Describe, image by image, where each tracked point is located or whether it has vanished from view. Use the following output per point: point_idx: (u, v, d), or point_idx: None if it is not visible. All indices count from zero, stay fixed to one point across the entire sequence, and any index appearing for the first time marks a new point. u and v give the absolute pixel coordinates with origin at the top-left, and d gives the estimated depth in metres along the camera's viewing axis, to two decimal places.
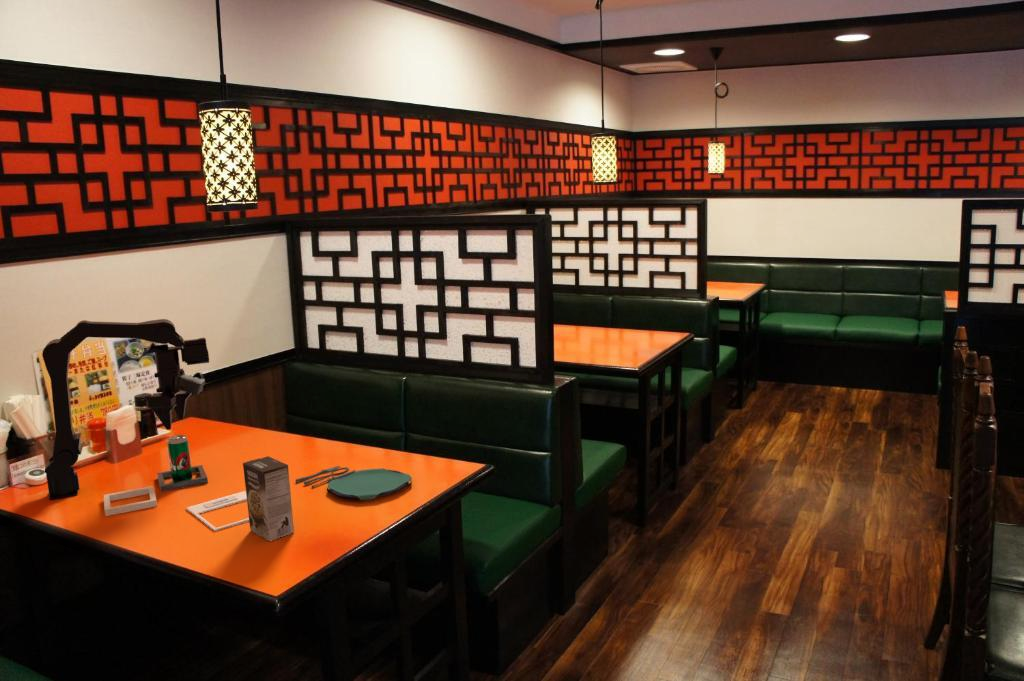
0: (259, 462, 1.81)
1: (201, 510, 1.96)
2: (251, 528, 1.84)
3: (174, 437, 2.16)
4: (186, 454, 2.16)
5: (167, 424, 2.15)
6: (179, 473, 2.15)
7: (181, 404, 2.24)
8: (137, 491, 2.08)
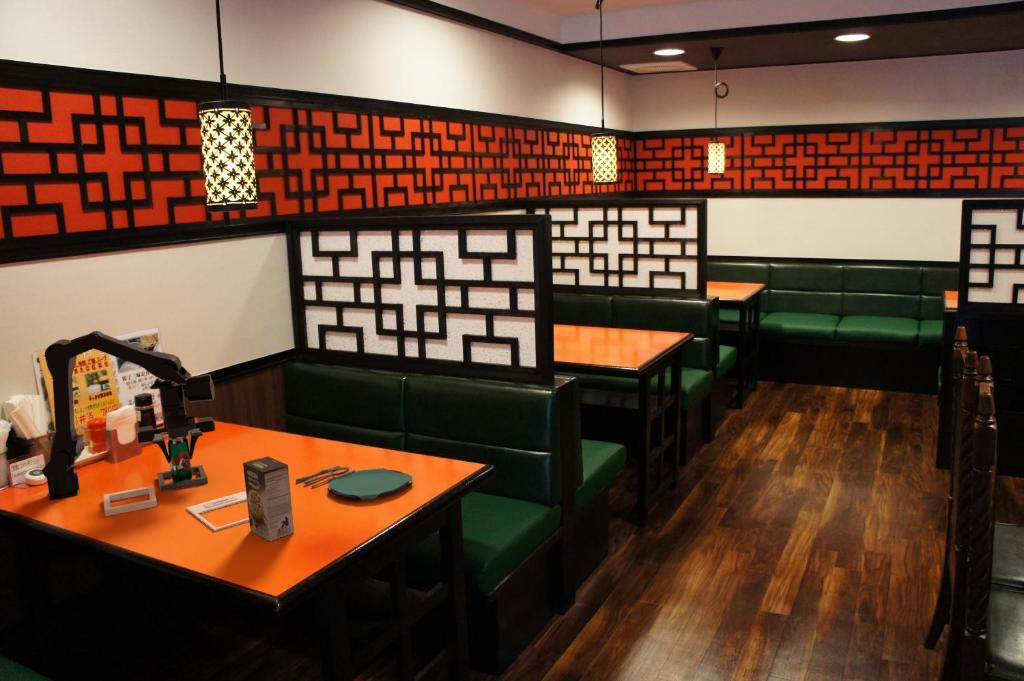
0: (259, 463, 1.81)
1: (201, 510, 1.96)
2: (251, 528, 1.84)
3: None
4: (186, 454, 2.16)
5: (165, 457, 2.15)
6: (179, 472, 2.15)
7: (189, 443, 2.17)
8: (137, 491, 2.08)
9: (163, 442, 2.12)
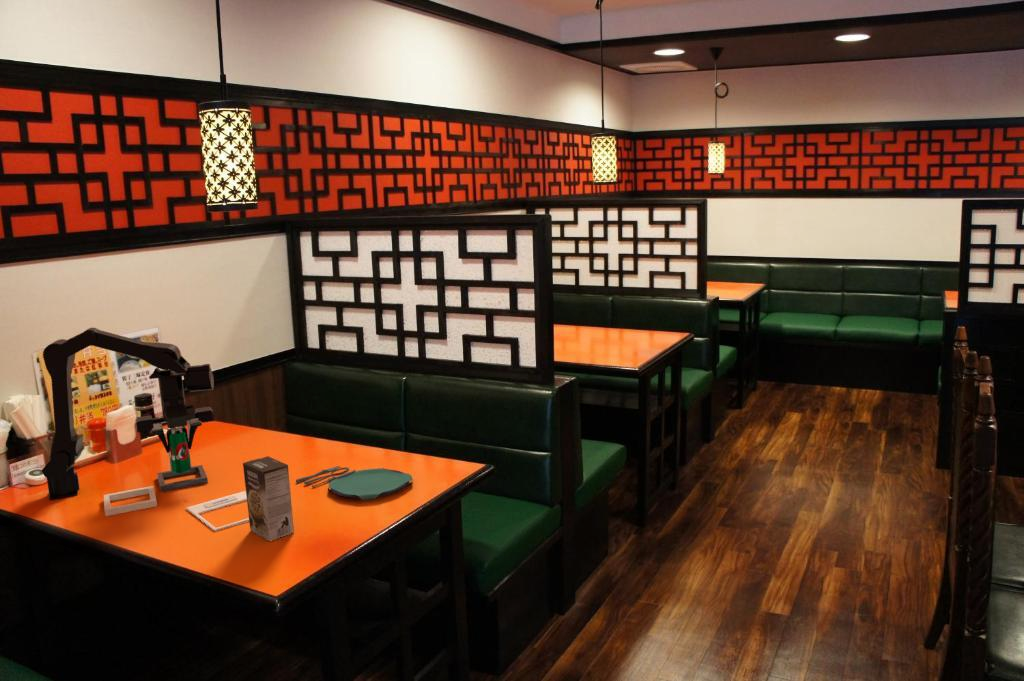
0: (259, 462, 1.81)
1: (201, 510, 1.96)
2: (251, 528, 1.84)
3: None
4: (185, 444, 2.15)
5: None
6: (178, 462, 2.15)
7: (189, 433, 2.17)
8: (137, 491, 2.08)
9: (162, 432, 2.12)
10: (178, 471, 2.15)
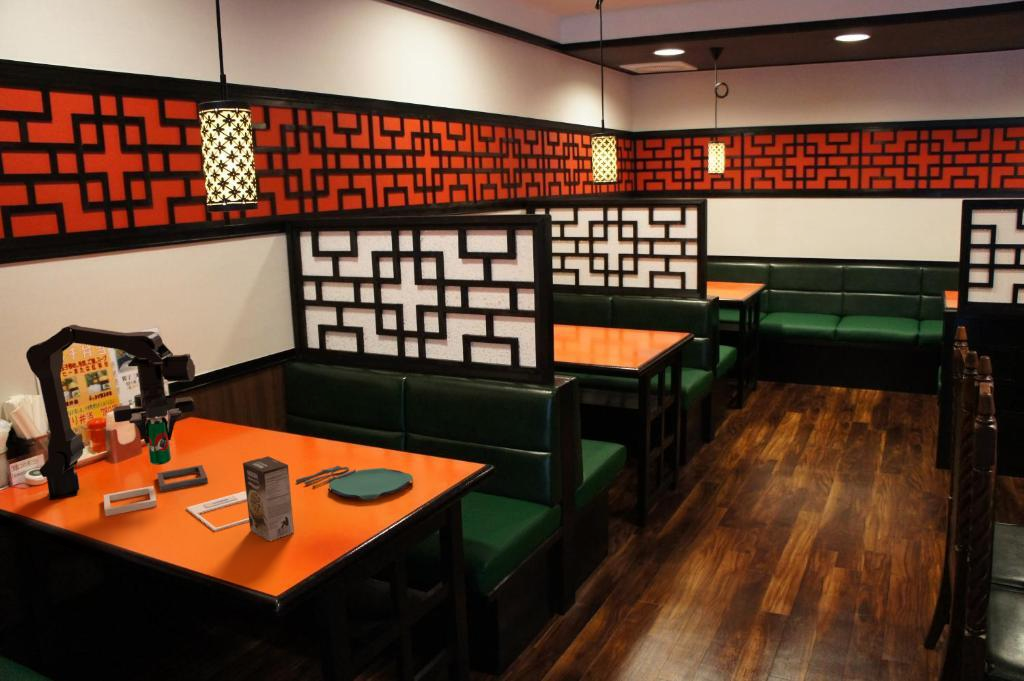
0: (259, 463, 1.81)
1: (201, 510, 1.96)
2: (251, 528, 1.84)
3: None
4: (164, 434, 2.09)
5: (143, 438, 2.09)
6: (157, 454, 2.09)
7: (168, 424, 2.11)
8: (137, 491, 2.08)
9: (141, 422, 2.06)
10: (157, 462, 2.09)
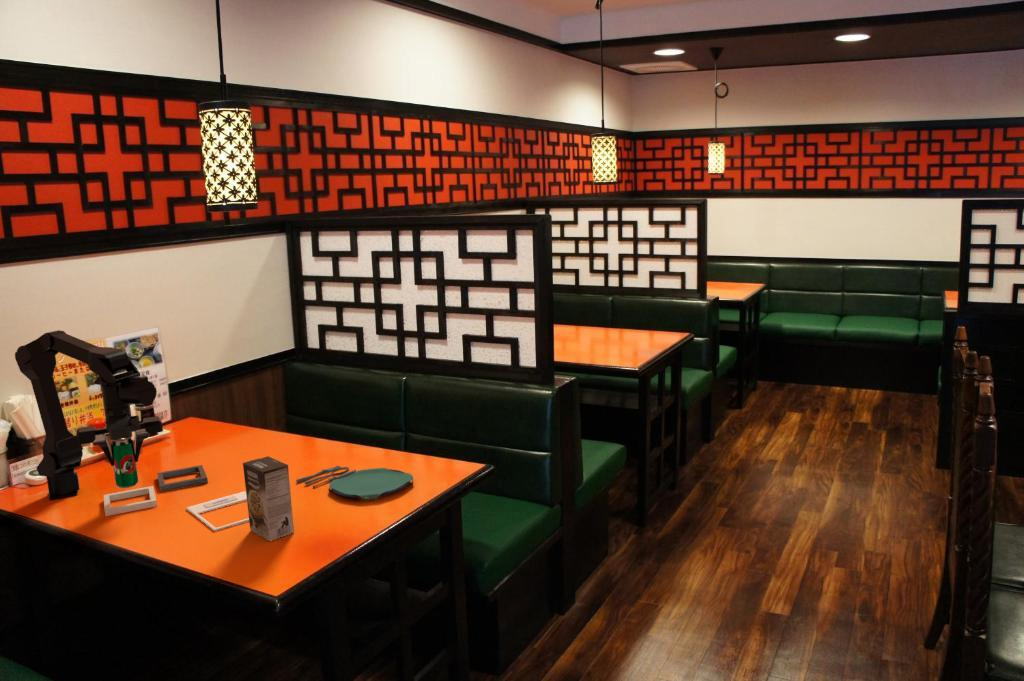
0: (259, 463, 1.81)
1: (201, 510, 1.96)
2: (251, 528, 1.84)
3: None
4: (130, 456, 2.00)
5: None
6: (123, 476, 2.00)
7: (135, 445, 2.02)
8: (137, 491, 2.08)
9: (105, 444, 1.97)
10: (123, 486, 2.00)
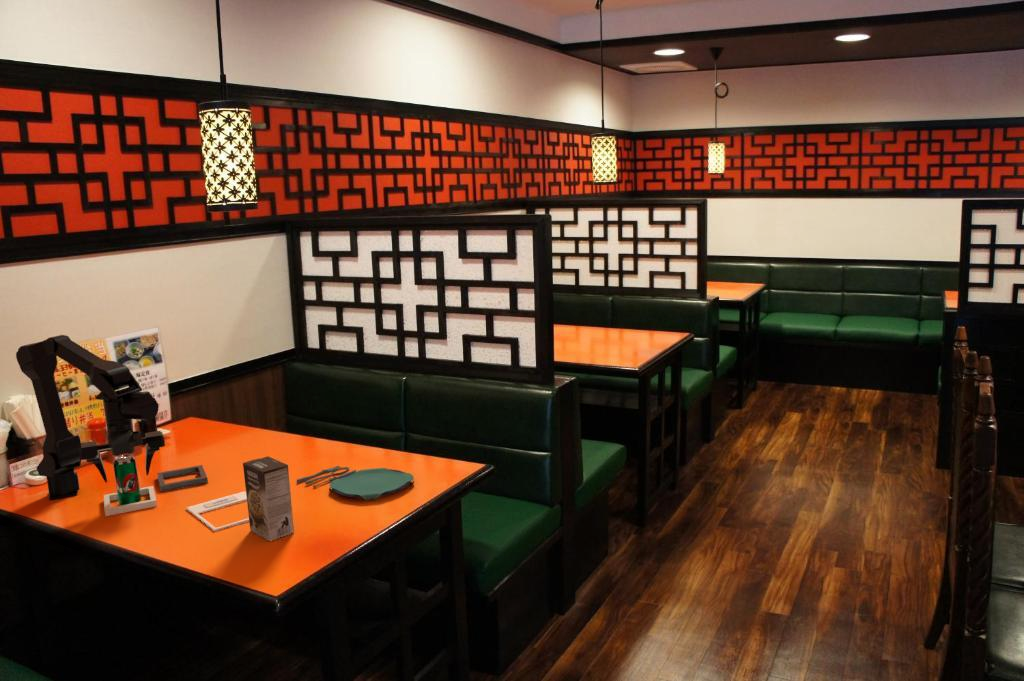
0: (259, 463, 1.81)
1: (201, 510, 1.96)
2: (251, 528, 1.84)
3: (121, 457, 2.02)
4: (133, 475, 2.01)
5: (102, 476, 2.00)
6: (125, 495, 2.01)
7: (146, 458, 2.04)
8: None
9: (99, 460, 1.97)
10: None
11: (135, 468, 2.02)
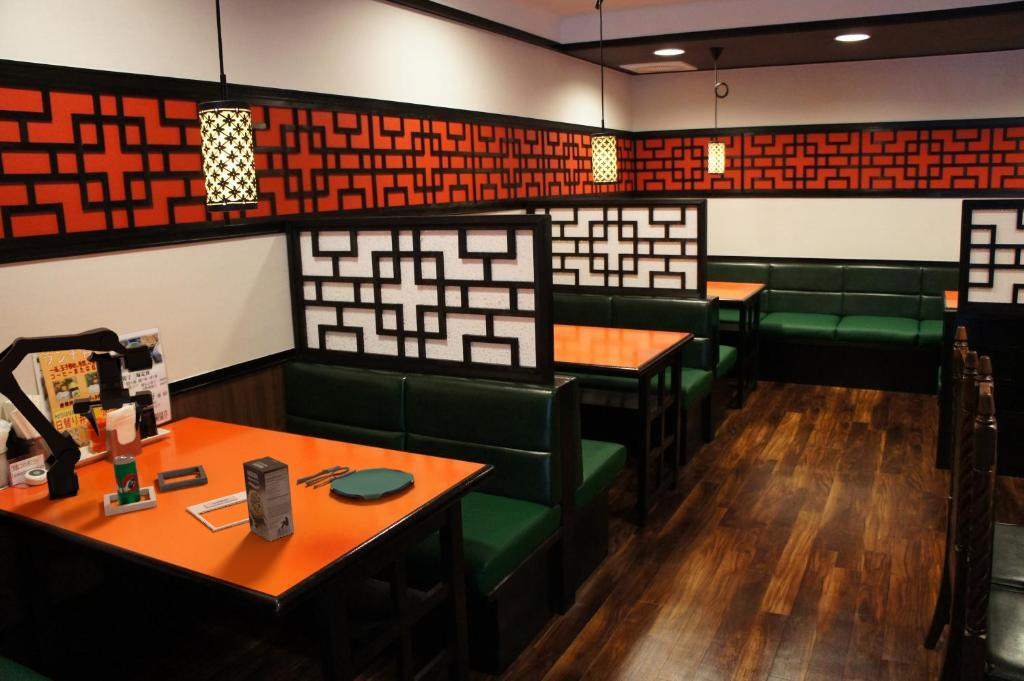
0: (259, 463, 1.81)
1: (201, 510, 1.96)
2: (251, 528, 1.84)
3: (121, 457, 2.02)
4: (133, 475, 2.01)
5: (95, 430, 2.16)
6: (125, 495, 2.01)
7: None
8: None
9: (91, 415, 2.13)
10: None
11: (135, 468, 2.02)
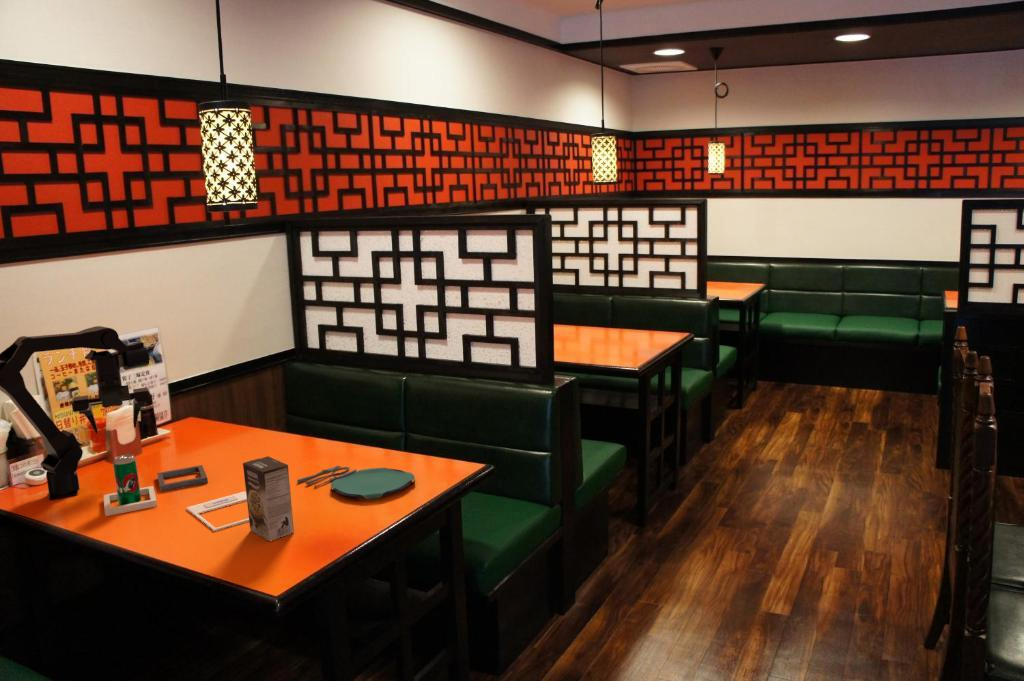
0: (259, 463, 1.81)
1: (201, 510, 1.96)
2: (251, 528, 1.84)
3: (121, 457, 2.02)
4: (133, 475, 2.01)
5: None
6: (125, 495, 2.01)
7: (133, 412, 2.22)
8: None
9: (90, 412, 2.15)
10: None
11: (135, 468, 2.02)
